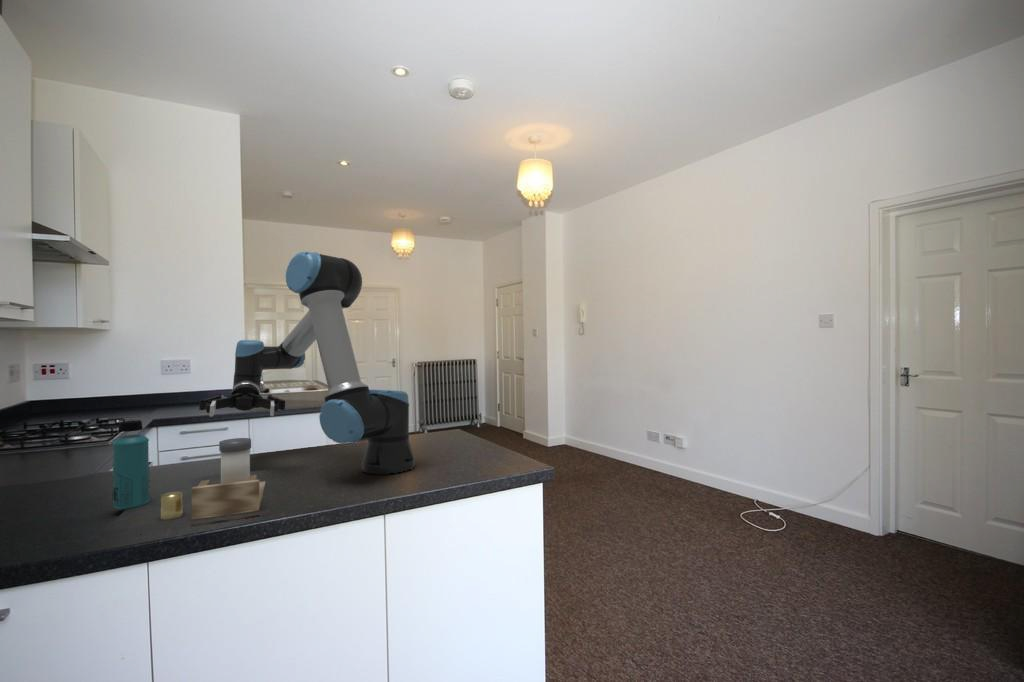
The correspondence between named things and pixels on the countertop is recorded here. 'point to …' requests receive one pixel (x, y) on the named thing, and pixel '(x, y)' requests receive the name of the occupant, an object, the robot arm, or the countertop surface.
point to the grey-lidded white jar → (235, 459)
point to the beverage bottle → (130, 467)
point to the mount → (226, 499)
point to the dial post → (171, 505)
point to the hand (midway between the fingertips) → (242, 411)
